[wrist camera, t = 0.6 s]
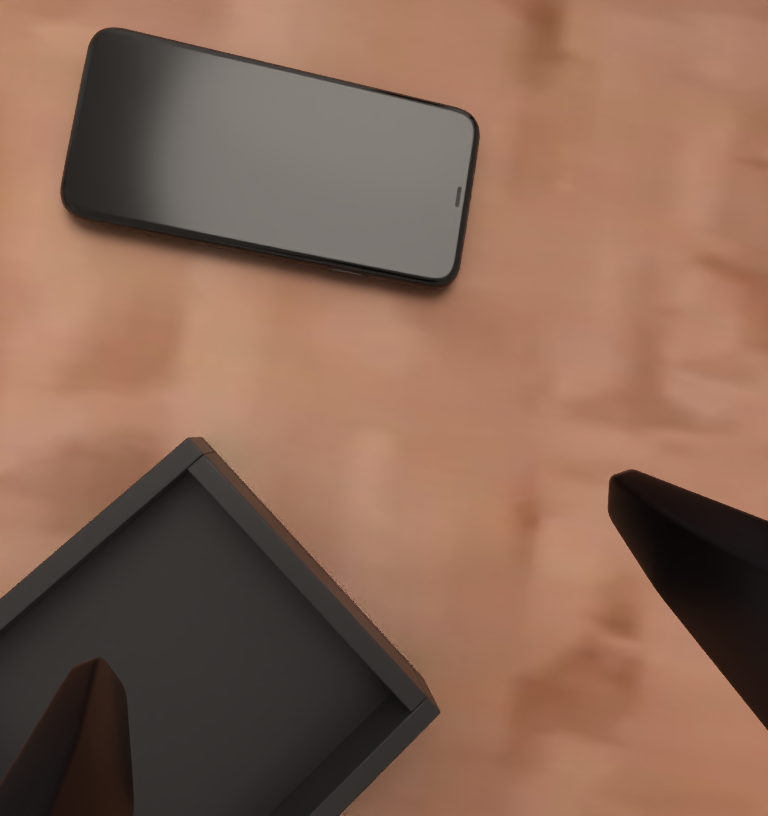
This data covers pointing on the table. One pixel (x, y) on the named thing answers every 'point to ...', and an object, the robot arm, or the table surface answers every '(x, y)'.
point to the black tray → (212, 651)
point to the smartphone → (269, 161)
